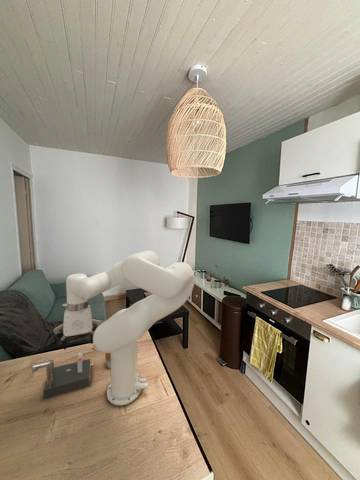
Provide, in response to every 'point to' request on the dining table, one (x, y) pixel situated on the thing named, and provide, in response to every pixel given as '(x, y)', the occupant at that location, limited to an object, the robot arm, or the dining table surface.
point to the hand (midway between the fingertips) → (79, 344)
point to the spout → (49, 370)
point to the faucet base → (68, 379)
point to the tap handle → (80, 362)
